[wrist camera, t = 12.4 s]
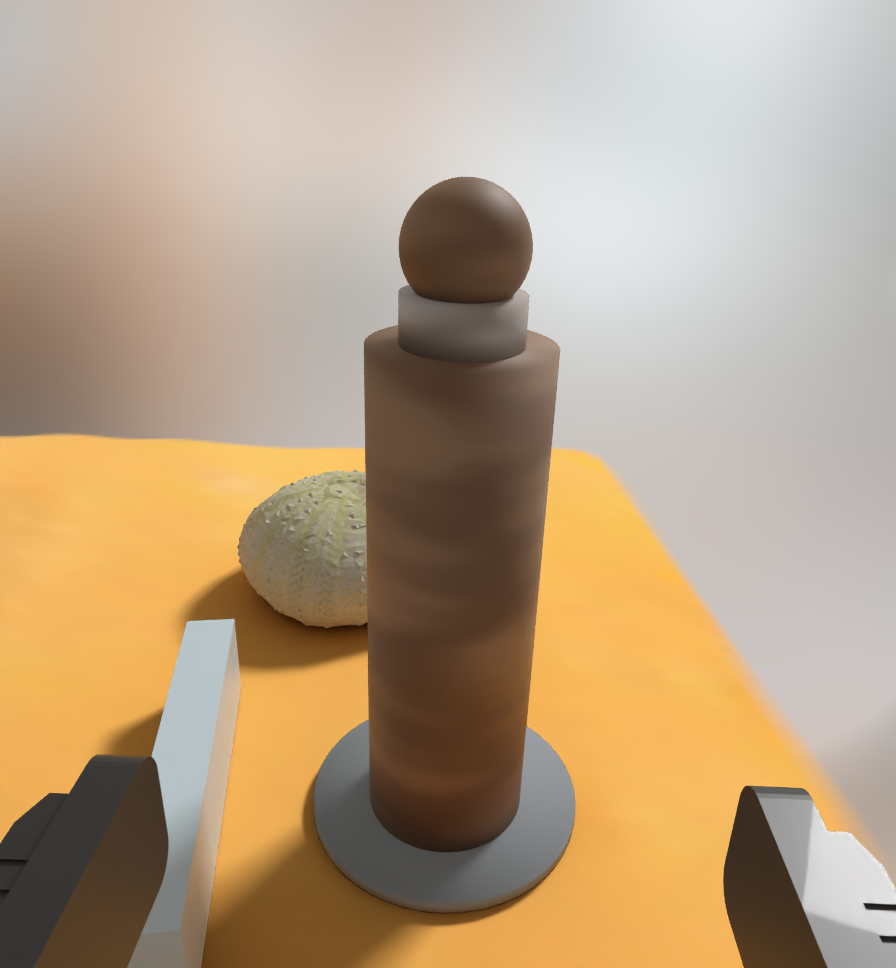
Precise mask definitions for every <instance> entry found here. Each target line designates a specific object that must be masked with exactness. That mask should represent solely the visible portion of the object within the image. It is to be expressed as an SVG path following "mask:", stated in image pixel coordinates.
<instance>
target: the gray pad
mask: <svg viewBox="0 0 896 968" xmlns="http://www.w3.org/2000/svg"><path fill="white" fill-rule="evenodd" d="M314 815H315V824H316V828H317V832H318V836H319V838H320V840H321V843H322V845H323V847H324V849H325V851H326V852H327V854H328V856H329V857H330V859H331V860H332V862H333V863H334V864H335V865H336V866H337V867H338V869H339V870H340V871H341V872H342V873H343V874H344V875H345V876H346V877H348V878H349V879H350V880H351V881H352V882H354V883H355V884H356V885H357V886H359V887H361V888H362V889H364V890H365V891H367V892H368V893H370V894H372V895H374V896H376V897H378V898H380V899H383V900H385V901H387V902H390V903H393V904H396V905H399V906H402V907H405V908H410V909H415V910H420V911H425V912H439V913H454V912H468V911H474V910H480V909H485V908H488V907H492V906H495V905H499V904H502V903H504V902H506V901H509V900H511V899H513V898H516V897H518V896H520V895H521V894H523V893H525V892H526V891H528V890H529V889H531V888H533V887H534V886H535V885H536V884H538V883H539V882H540V881H541V880H543V879H544V878H545V877H546V876H547V875H548V874H549V873H550V872H551V871H552V869H553V868H554V867H555V866H556V865H557V863H558V862H559V860H560V859H561V857H562V856H563V854H564V853H565V850H566V848H567V846H568V843H569V841H570V838H571V834H572V830H573V825H574V817H575V795H574V788H573V785H572V781H571V778H570V775H569V773H568V771H567V769H566V767H565V765H564V763H563V762H562V760H561V759H560V757H559V755H558V754H557V753H556V752H555V751H554V749H553V748H552V747H551V746H550V745H549V744H548V743H547V742H546V741H545V740H544V739H543V738H542V737H541V736H540V735H538V734H537V733H536V732H534V731H533V730H532V729H530V728H529V727H527V726H526V736H525V747H524V758H523V769H522V781H521V792H520V802H519V808H518V811H517V814H516V816H515V818H514V820H513V821H512V823H511V824H510V825H509V827H508V828H507V829H506V830H505V831H504V832H503V833H502V834H501V835H500V836H498V837H497V838H495V839H494V840H492V841H491V842H489V843H487V844H485V845H482V846H480V847H477V848H474V849H470V850H467V851H460V852H448V853H444V852H433V851H427V850H423V849H419V848H416V847H413V846H411V845H408V844H406V843H404V842H402V841H400V840H399V839H397V838H396V837H394V836H393V835H392V834H390V833H389V832H388V831H387V830H386V829H385V828H384V827H383V826H382V825H381V823H380V822H379V821H378V819H377V818H376V816H375V814H374V812H373V809H372V806H371V801H370V772H369V720H367V721H365V722H363V723H361V724H360V725H358V726H357V727H355V728H354V729H353V730H351V731H350V732H349V733H347V734H346V735H345V736H344V737H343V738H342V739H341V740H340V741H339V742H338V743H337V744H336V745H335V746H334V747H333V749H332V750H331V751H330V752H329V754H328V756H327V757H326V759H325V760H324V762H323V764H322V766H321V768H320V771H319V773H318V776H317V780H316V783H315V789H314Z"/></svg>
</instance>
